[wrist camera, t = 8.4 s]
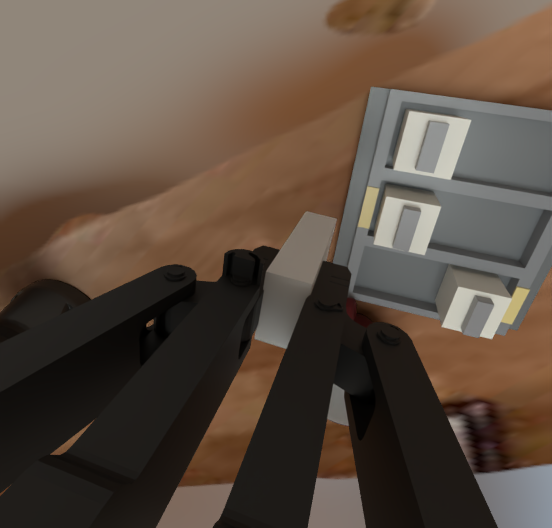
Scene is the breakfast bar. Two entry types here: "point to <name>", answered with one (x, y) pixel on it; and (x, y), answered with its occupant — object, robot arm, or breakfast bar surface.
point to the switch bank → (454, 205)
